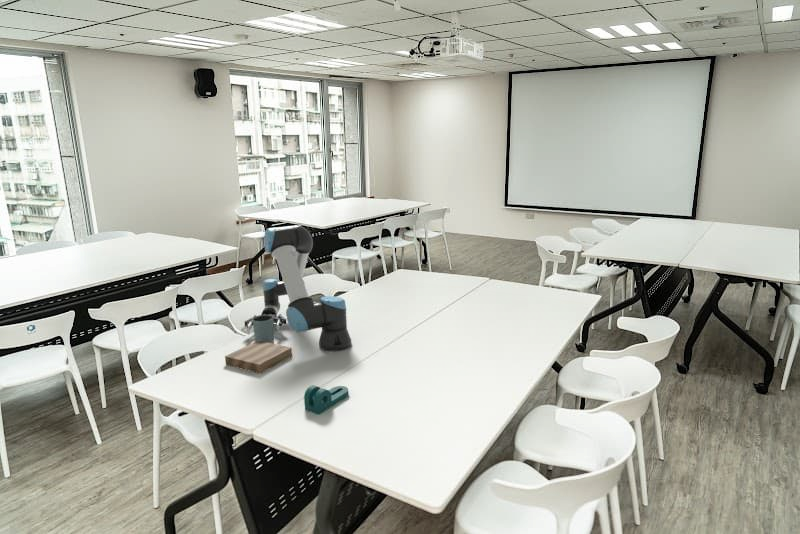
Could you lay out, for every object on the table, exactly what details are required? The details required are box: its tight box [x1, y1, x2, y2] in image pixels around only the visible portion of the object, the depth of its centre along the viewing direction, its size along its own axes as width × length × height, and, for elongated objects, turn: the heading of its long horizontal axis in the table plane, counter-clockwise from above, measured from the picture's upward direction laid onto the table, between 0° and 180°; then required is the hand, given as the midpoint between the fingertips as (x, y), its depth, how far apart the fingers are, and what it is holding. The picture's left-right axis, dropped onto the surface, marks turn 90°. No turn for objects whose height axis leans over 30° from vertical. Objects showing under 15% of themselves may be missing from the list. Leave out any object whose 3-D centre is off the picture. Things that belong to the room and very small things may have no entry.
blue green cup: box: [251, 314, 275, 344], centre depth 242 cm, size 10×10×12 cm
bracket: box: [303, 384, 349, 415], centre depth 184 cm, size 18×7×8 cm, turn 145°
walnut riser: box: [224, 340, 293, 374], centre depth 221 cm, size 20×20×4 cm
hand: (263, 328), depth 242 cm, fingers open, 13 cm apart
